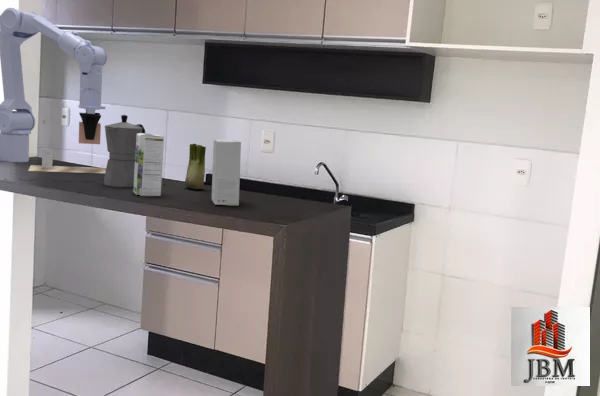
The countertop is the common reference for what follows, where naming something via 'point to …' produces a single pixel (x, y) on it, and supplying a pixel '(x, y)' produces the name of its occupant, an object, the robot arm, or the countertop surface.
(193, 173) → the fennel bulb
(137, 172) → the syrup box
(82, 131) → the salmon orange cube
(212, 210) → the countertop surface
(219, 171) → the skincare box
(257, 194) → the countertop surface
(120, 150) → the coffeepot
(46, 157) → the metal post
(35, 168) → the maple board
